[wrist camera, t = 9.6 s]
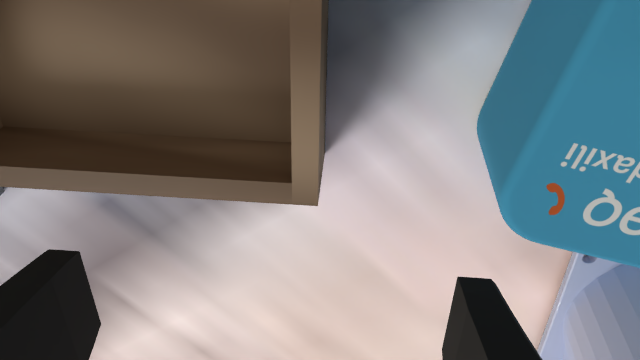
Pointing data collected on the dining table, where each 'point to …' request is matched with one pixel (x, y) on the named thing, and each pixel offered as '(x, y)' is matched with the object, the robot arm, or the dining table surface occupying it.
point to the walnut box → (165, 97)
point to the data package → (569, 128)
